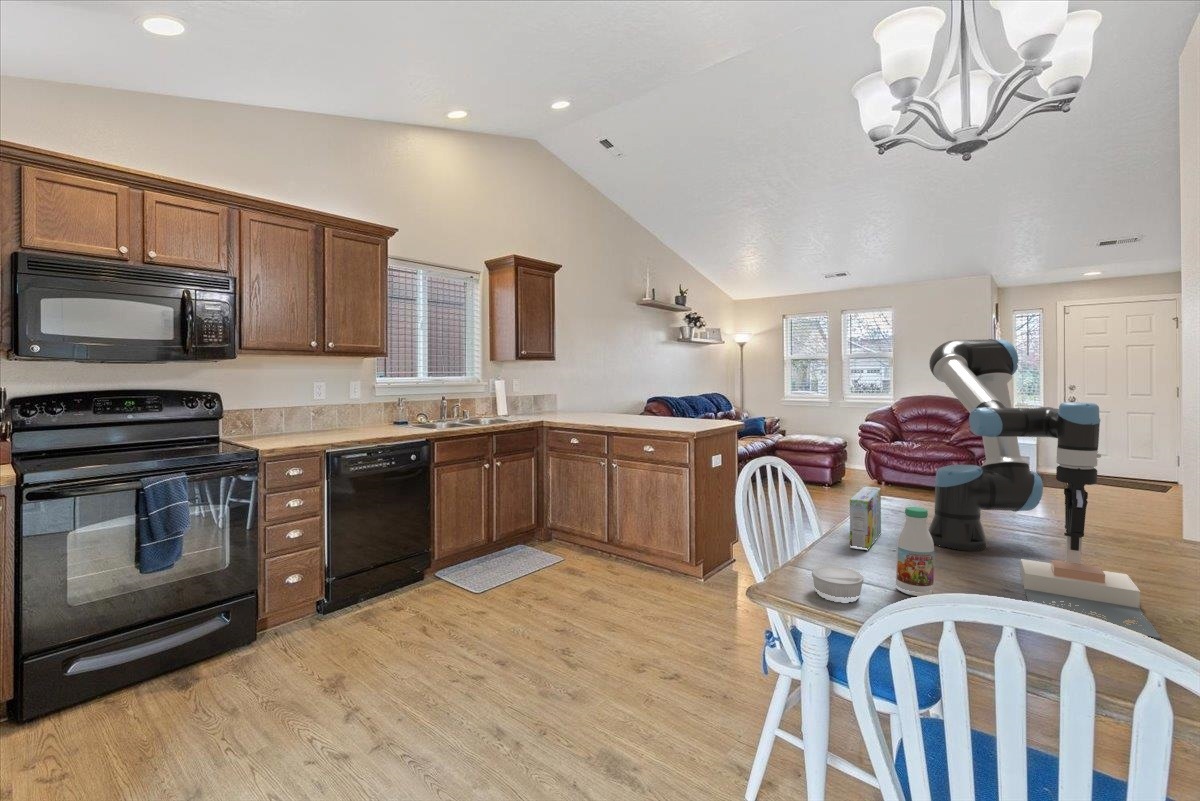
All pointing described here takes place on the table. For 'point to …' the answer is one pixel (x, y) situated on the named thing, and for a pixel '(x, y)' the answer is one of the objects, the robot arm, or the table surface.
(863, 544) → the snack box
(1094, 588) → the plate
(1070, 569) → the tile
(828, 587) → the ramekin
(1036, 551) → the table surface
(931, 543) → the milk bottle
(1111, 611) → the mat
